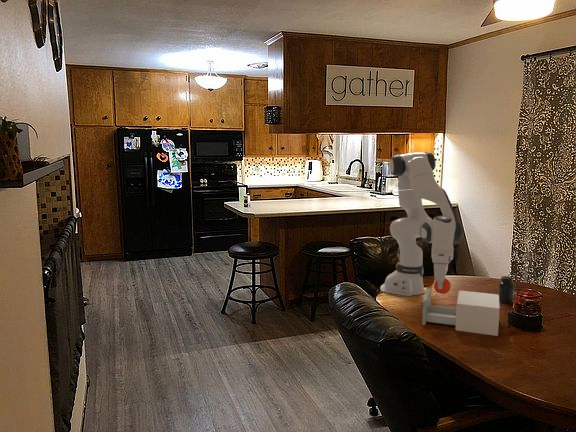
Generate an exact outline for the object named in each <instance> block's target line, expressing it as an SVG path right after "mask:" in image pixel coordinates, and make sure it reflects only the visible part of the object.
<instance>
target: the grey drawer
mask: <svg viewBox="0 0 576 432" xmlns="http://www.w3.org/2000/svg"><path fill="white" fill-rule="evenodd" d="M424 294H425V295H424V297H423V298H422V299H423V300H422V301H421V303H420V304H421V305H420V308H422V320H421V321H422V322H421V324H422V326H423V325H424V326H426V323H427V322H428V323H435V324H442V325H443V324H444V325H450V326H456V307H453V306H443V305H434V304H431V299H432V297H431V296H432V288H431V287H427V290H426V292H425V293H424Z"/></svg>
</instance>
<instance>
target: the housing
mask: <svg viewBox="0 0 576 432" xmlns="http://www.w3.org/2000/svg"><path fill="white" fill-rule="evenodd" d="M455 308H456V325H455V331H458V332H465V333H473V334H479V335H487V336H488V335H489V336H494V337H495V336H497V337H499V321H500V301H499V295H498V293H497V294H496V293H487V292H477V291H467V290H459V291H458V295H457V300H456V307H455Z"/></svg>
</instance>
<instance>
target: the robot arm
mask: <svg viewBox="0 0 576 432" xmlns="http://www.w3.org/2000/svg"><path fill="white" fill-rule="evenodd" d="M436 164H437V163H436V157H435V155H434V153H432V152H430V151H428V152H427V151H424V152H408V153H403V154H396V155H393V156H392V157H391V158H390V161H389V170H390V173H391V174H392V175H393V176H395V177H398V178H397V179H398V180H397V190H398V202H399V203H398V204H399V206H400V208H402V209H403V210H404V211H405V213H406V214H407V217H401V218H398V219H395V220H393V221H391V224H390V226H389V233H390V235H391V236H392V238H393V239H395V240H396V242H397V244H398V246H399V252H400V255H399V260H400V261H398V262H397V263H396V265H395V267H396V268H395V270H394V271H393V272H392V273H389V274H388V275H387V276H386V278H385V280H384V283H383V284H382V285H380V287H379V288H380V289H379V290H380V292H382V293H388V294H393V295H400V296H404V297H411V296H418V295H422V294H425V293H426V292H425V291H426V289H425V287H424V281H423V280H424V279H423V277H424V276H423V275H424V264H423V259H424V258H423V256H424V255H423V253H424V252H423V249H422V247H420V246H419V245H418V244H417V241H416V240H417V238H421V239H422V240H423V242H425V243H428V244H432V245H431V261H432V263H433V275H434V282H435V281H438V289H442V288H443V281H444V279H445V278H446V276H447V272H448V270H449V264H450V263H451V261H453V259H454V244H456V243H458V242H459V241H461V239H462V238H463V236H464V227H463V224H462V223H461V222H460V220H459V218H458V217H457V214H456V211H455V209H454V207H453V205H452V202H451V201H450V198H449V196H448V193H447V192H446V190H445V189H444V188H442V187H441V186H440V185H439V184H438V182H437V181H436V178H435V175H434V172H433V171H434V170H435V168H436ZM423 200H426V201H429V202H431V203H433V204H436V206H438V207H439V208H440V212H441V213H442V215H437V216H435V217H433V218H431V217H430V216H429V215H428V214H427V213H426V211H425V208H424V205H423Z"/></svg>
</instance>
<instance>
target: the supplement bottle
mask: <svg viewBox="0 0 576 432" xmlns="http://www.w3.org/2000/svg"><path fill="white" fill-rule="evenodd" d="M497 291H498V293H497V294H498V295H499V303H501V304H502V303H503V304H513V303H514V301H513V294H514V295H515V284H514V282H513V276H509V275H504V276H501V278H500V282H499V283H498V290H497ZM512 302H513V303H512Z"/></svg>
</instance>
